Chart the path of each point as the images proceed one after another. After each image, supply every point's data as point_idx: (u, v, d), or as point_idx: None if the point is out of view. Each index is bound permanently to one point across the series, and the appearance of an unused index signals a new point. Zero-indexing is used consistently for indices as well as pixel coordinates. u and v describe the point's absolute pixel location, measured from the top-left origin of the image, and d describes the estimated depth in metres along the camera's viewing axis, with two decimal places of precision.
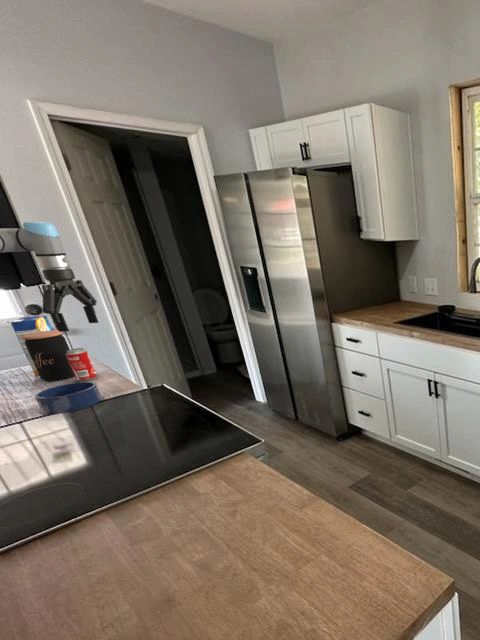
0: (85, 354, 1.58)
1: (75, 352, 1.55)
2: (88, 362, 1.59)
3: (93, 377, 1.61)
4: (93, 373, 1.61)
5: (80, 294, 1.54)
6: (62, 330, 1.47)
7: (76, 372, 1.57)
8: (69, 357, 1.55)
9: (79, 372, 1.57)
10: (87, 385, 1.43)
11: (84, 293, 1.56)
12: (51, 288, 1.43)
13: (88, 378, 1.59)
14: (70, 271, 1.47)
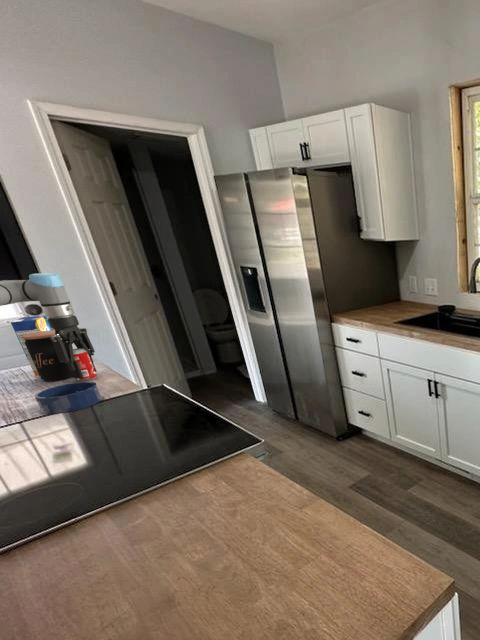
0: (85, 354, 1.58)
1: (75, 352, 1.55)
2: (88, 362, 1.59)
3: (93, 377, 1.61)
4: (93, 373, 1.61)
5: (81, 342, 1.58)
6: (77, 377, 1.57)
7: None
8: None
9: None
10: (87, 385, 1.43)
11: (85, 341, 1.61)
12: (59, 339, 1.49)
13: (88, 378, 1.59)
14: (74, 318, 1.53)
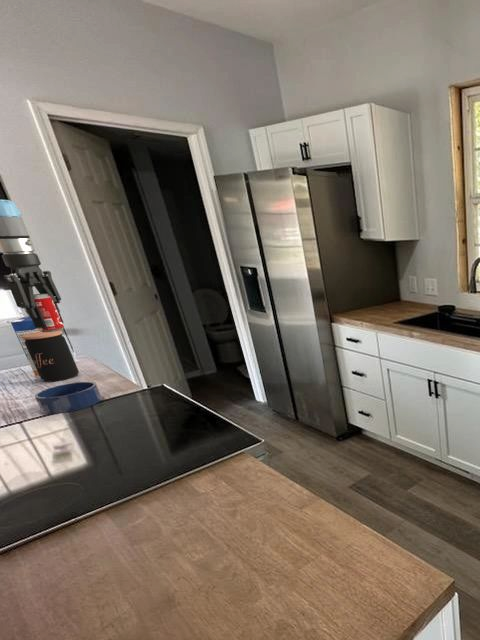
0: (49, 300, 1.35)
1: (37, 297, 1.33)
2: (53, 310, 1.36)
3: (59, 328, 1.38)
4: (59, 323, 1.38)
5: (44, 286, 1.36)
6: (39, 326, 1.34)
7: None
8: None
9: None
10: (87, 385, 1.43)
11: (49, 286, 1.38)
12: (16, 279, 1.27)
13: (53, 328, 1.37)
14: (35, 256, 1.31)
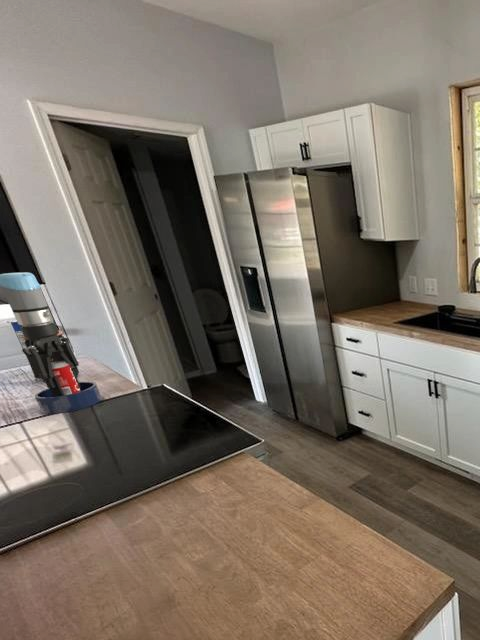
0: (67, 368, 1.34)
1: (55, 366, 1.31)
2: (70, 378, 1.35)
3: None
4: (77, 390, 1.37)
5: (62, 354, 1.34)
6: (57, 395, 1.33)
7: None
8: None
9: None
10: (87, 385, 1.43)
11: (67, 353, 1.37)
12: (34, 352, 1.25)
13: None
14: (53, 326, 1.29)
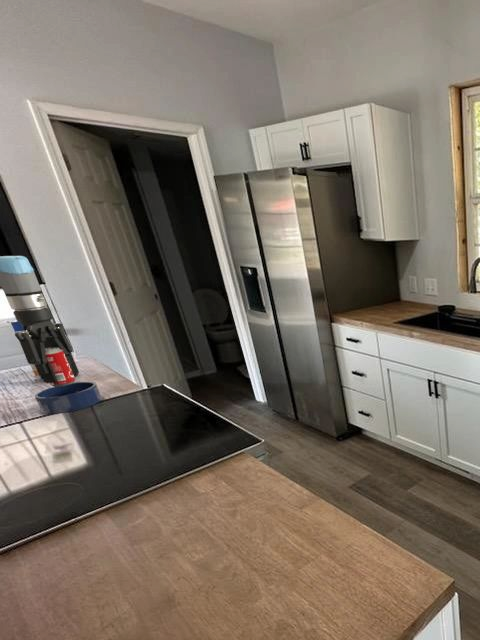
0: (61, 354, 1.32)
1: (48, 352, 1.30)
2: (64, 364, 1.33)
3: (71, 381, 1.35)
4: (71, 377, 1.35)
5: (56, 339, 1.33)
6: (50, 381, 1.31)
7: None
8: None
9: None
10: (87, 385, 1.43)
11: (61, 339, 1.35)
12: (27, 336, 1.24)
13: (64, 383, 1.34)
14: (47, 311, 1.27)
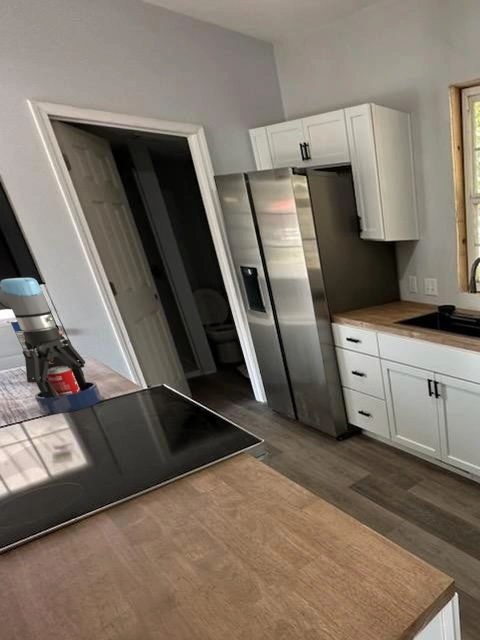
0: (69, 373, 1.34)
1: (57, 371, 1.32)
2: (72, 382, 1.35)
3: None
4: None
5: (67, 355, 1.36)
6: None
7: (58, 394, 1.34)
8: (50, 377, 1.31)
9: (62, 394, 1.34)
10: (87, 385, 1.43)
11: (71, 354, 1.38)
12: (34, 354, 1.25)
13: None
14: (55, 331, 1.30)
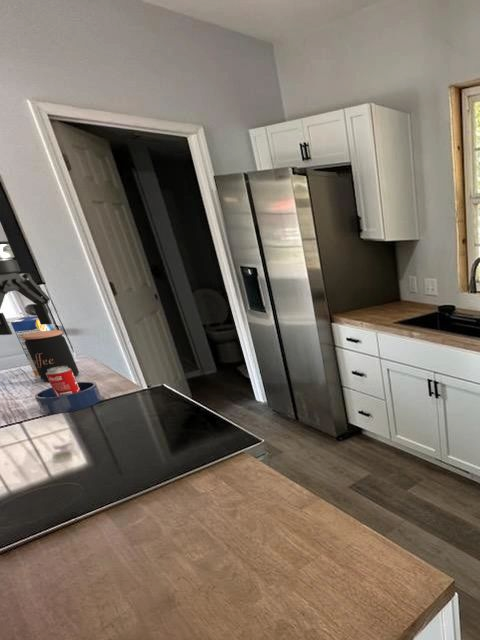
0: (69, 373, 1.34)
1: (57, 371, 1.32)
2: (72, 382, 1.35)
3: None
4: None
5: (28, 290, 1.30)
6: (4, 333, 1.23)
7: (58, 394, 1.34)
8: (50, 377, 1.31)
9: (62, 394, 1.34)
10: (87, 385, 1.43)
11: (34, 289, 1.33)
12: None
13: None
14: (14, 263, 1.24)
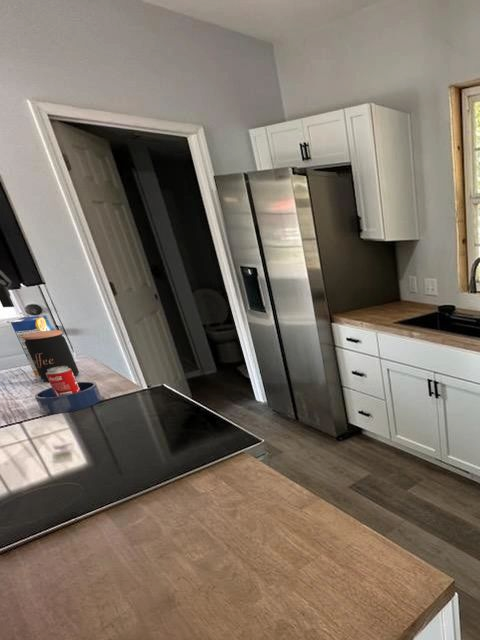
0: (69, 373, 1.34)
1: (57, 371, 1.32)
2: (72, 382, 1.35)
3: None
4: None
5: None
6: None
7: (58, 394, 1.34)
8: (50, 377, 1.31)
9: (62, 394, 1.34)
10: (87, 385, 1.43)
11: None
12: None
13: None
14: None
